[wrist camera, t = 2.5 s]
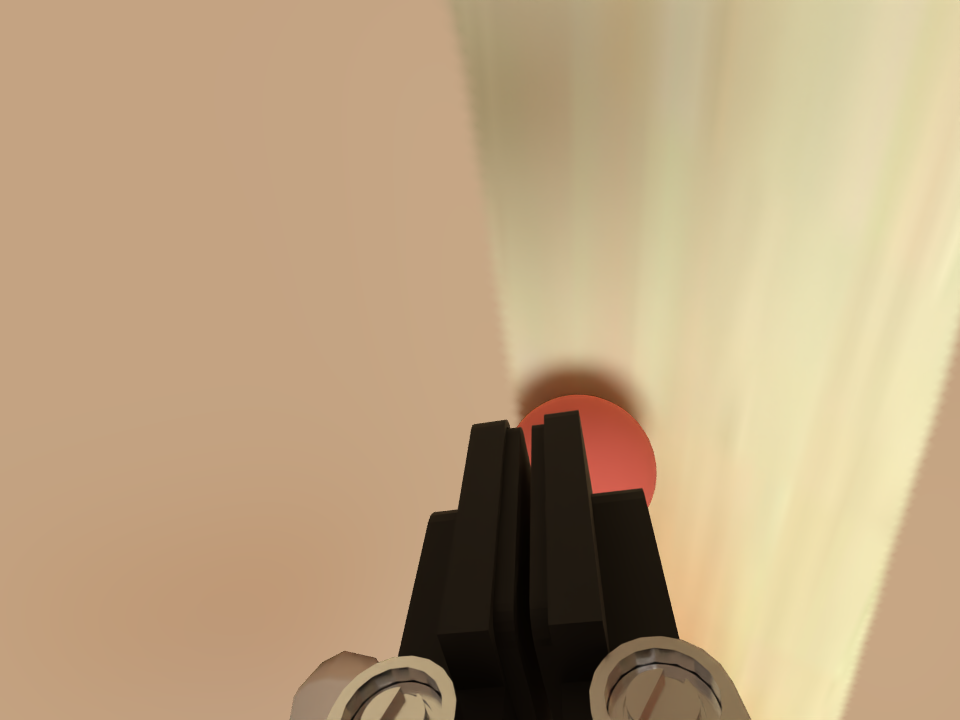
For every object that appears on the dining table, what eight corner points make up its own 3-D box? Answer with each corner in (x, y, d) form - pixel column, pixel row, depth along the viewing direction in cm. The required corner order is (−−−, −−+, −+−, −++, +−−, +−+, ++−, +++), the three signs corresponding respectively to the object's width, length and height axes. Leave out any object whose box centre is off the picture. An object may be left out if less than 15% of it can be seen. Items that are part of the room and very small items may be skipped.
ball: (495, 379, 27) (485, 463, 22) (636, 358, 26) (662, 441, 21) (520, 489, 30) (516, 588, 24) (650, 474, 29) (675, 573, 24)
